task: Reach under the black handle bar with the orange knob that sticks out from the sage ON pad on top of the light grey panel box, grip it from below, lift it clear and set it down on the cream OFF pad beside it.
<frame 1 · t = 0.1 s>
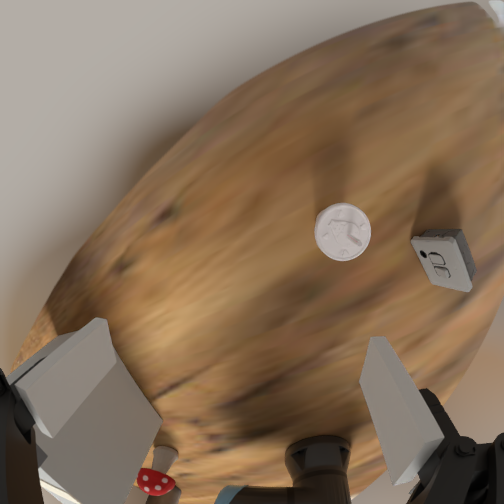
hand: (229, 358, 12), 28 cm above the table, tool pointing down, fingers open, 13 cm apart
electrical switch: (430, 250, 37), on the table
smoothie: (328, 221, 38), on the table
breaker panel: (107, 380, 49), on the table
pillar candle: (168, 487, 61), on the table
decorative mushroom: (167, 450, 54), on the table
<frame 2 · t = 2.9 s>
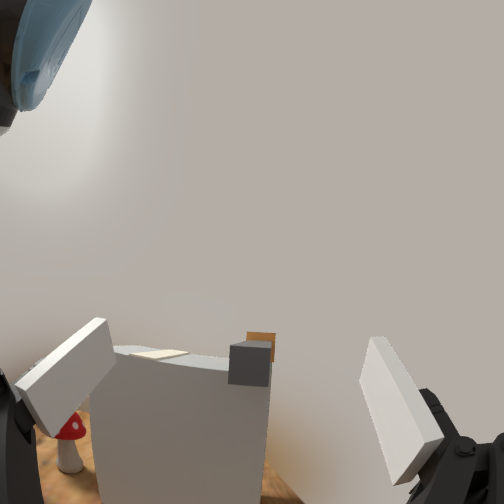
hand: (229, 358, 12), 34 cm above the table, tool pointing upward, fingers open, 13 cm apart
decorative mushroom: (70, 468, 32), on the table
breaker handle: (256, 367, 34), point 30 cm above the table, touching breaker panel
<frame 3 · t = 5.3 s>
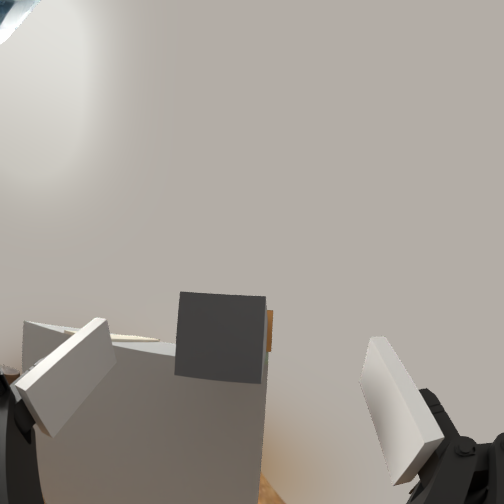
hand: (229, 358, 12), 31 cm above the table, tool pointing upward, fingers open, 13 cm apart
pillar candle: (8, 419, 35), on the table
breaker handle: (244, 356, 22), point 30 cm above the table, touching breaker panel
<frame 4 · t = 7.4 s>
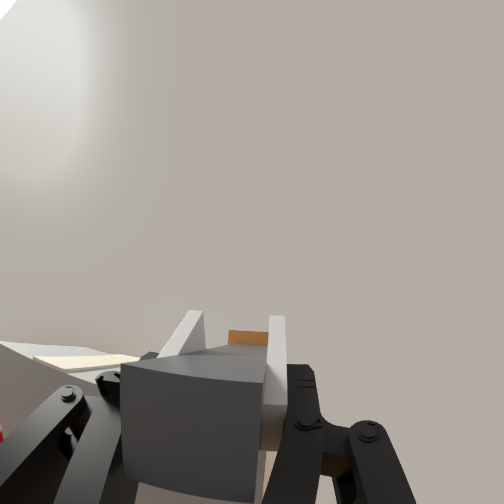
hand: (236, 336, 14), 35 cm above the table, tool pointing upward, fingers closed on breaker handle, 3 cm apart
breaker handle: (240, 396, 17), point 30 cm above the table, touching breaker panel, gripper
when the fingers open (36 cm above the table, at t = 12.4 s): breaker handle drops 1 cm, resting on breaker panel.
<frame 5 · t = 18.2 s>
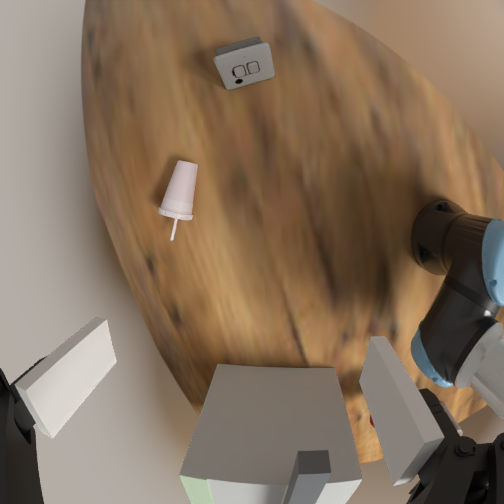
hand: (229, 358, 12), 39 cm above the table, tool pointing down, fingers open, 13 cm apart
electrical switch: (246, 73, 43), on the table
smoothie: (188, 161, 45), point 3 cm above the table
breaker panel: (274, 393, 58), on the table
pillar candle: (431, 411, 57), on the table
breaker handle: (297, 494, 27), point 30 cm above the table, touching breaker panel
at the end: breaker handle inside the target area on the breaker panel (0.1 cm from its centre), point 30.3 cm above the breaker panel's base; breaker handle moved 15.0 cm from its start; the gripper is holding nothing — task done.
